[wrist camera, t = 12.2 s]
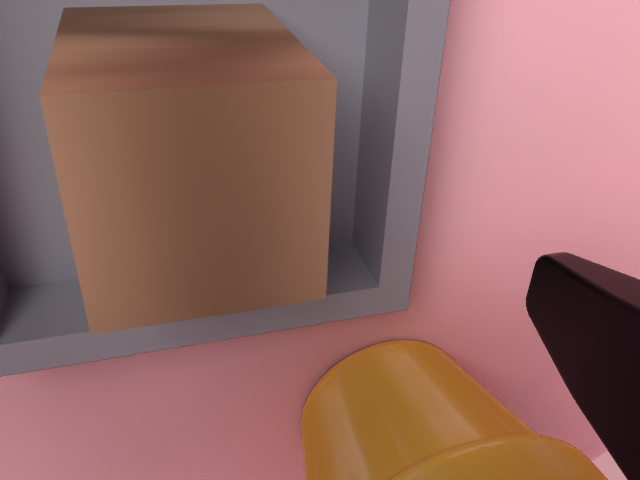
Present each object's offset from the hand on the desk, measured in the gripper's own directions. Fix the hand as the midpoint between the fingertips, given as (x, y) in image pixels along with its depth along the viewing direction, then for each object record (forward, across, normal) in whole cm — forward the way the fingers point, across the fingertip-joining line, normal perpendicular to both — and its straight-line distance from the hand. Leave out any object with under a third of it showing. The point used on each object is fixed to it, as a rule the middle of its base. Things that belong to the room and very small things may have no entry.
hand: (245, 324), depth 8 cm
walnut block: (+9, 0, 0) cm, 9 cm away
